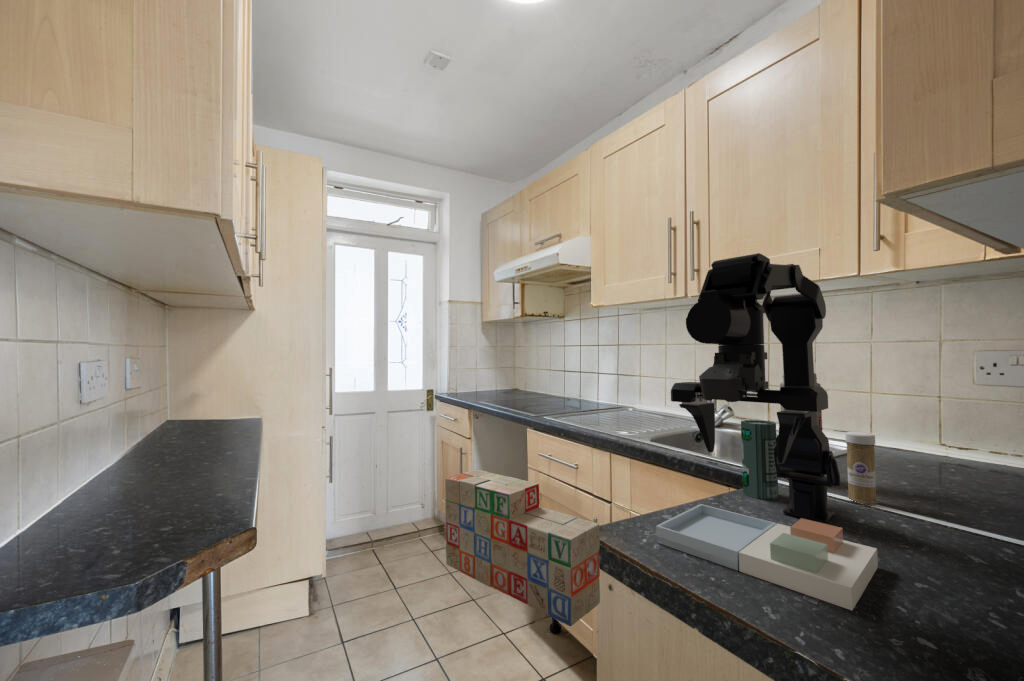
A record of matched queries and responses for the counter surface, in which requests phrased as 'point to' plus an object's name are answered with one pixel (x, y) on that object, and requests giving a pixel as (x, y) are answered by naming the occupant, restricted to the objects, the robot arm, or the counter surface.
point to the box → (712, 533)
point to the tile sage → (799, 552)
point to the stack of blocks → (522, 544)
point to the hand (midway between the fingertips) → (744, 457)
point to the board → (833, 581)
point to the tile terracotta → (819, 533)
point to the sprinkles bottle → (861, 467)
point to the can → (759, 459)
